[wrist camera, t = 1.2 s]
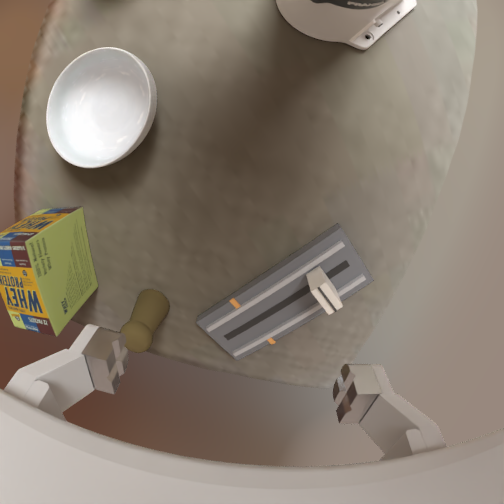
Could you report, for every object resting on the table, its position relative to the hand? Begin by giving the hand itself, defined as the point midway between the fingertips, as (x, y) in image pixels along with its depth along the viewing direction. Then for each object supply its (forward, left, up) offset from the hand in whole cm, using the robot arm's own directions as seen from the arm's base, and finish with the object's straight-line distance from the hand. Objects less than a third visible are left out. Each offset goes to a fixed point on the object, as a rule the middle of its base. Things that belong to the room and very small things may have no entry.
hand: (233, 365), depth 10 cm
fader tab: (+1, +18, -32) cm, 36 cm away
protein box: (+33, -12, -34) cm, 49 cm away
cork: (+27, +6, -34) cm, 44 cm away
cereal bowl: (+9, -22, -34) cm, 42 cm away
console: (+8, +18, -34) cm, 39 cm away
